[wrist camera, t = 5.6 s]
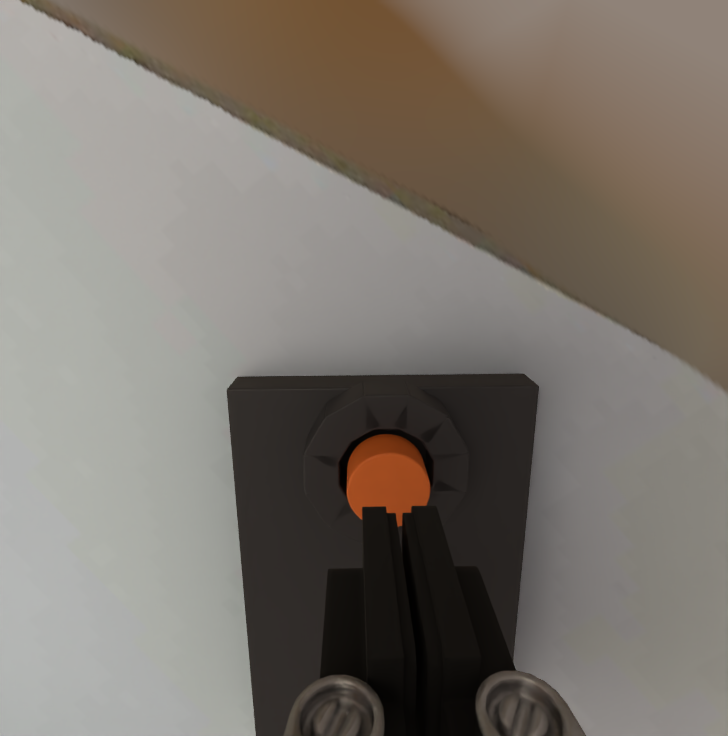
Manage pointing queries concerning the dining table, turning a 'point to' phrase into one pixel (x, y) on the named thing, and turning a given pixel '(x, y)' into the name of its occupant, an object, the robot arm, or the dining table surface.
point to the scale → (334, 514)
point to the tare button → (387, 476)
